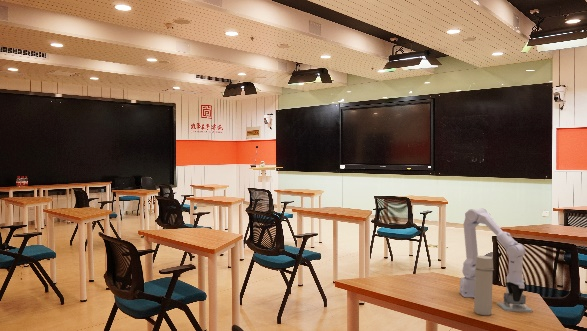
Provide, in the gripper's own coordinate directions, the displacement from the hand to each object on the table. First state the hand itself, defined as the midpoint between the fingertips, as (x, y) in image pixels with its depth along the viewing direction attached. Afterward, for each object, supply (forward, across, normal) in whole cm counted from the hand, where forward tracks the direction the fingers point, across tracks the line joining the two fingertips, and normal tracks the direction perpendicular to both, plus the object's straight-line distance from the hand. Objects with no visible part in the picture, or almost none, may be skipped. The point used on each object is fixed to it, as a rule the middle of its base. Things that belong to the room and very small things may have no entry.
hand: (514, 299), depth 203 cm
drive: (+1, 0, 0) cm, 1 cm away
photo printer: (+4, +21, -9) cm, 23 cm away
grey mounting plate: (+4, 0, 0) cm, 4 cm away
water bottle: (+4, -9, +17) cm, 20 cm away
